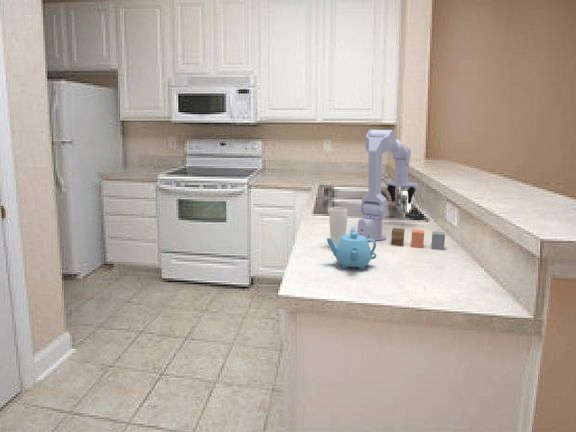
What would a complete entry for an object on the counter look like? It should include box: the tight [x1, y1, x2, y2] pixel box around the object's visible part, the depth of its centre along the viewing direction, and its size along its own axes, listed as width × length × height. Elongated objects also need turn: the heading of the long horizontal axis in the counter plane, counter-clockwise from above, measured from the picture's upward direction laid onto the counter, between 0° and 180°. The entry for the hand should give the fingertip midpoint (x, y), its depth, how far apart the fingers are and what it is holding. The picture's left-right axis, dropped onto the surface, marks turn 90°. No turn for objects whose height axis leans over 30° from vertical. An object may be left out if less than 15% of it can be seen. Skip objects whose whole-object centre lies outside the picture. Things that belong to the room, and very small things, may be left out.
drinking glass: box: [328, 206, 349, 246], centre depth 165 cm, size 7×7×15 cm
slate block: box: [430, 230, 446, 251], centre depth 167 cm, size 4×4×6 cm
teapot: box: [326, 227, 377, 271], centre depth 145 cm, size 15×14×11 cm
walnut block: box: [390, 227, 405, 247], centre depth 171 cm, size 4×4×6 cm
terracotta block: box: [410, 229, 425, 249], centre depth 169 cm, size 4×4×6 cm
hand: (401, 202), depth 201 cm, fingers open, 7 cm apart
